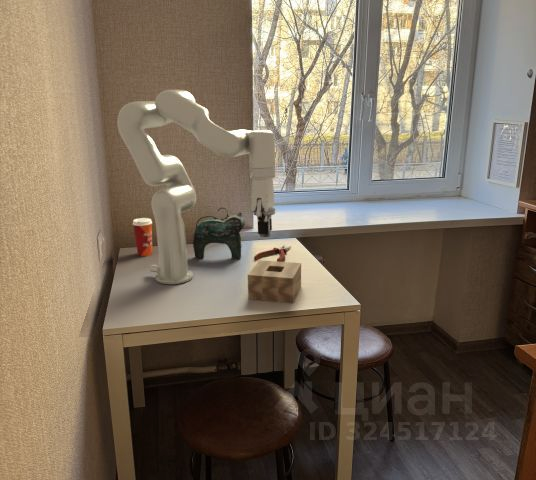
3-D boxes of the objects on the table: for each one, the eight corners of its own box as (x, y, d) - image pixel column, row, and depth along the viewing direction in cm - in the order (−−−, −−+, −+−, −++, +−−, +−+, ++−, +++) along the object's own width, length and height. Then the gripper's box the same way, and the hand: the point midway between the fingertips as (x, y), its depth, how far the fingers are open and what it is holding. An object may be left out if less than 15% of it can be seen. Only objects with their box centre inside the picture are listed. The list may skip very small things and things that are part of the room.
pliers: (300, 250, 200) (300, 244, 199) (280, 265, 182) (280, 259, 182) (275, 247, 204) (275, 241, 204) (252, 261, 187) (252, 255, 186)
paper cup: (150, 257, 192) (147, 222, 188) (132, 256, 193) (128, 222, 189) (157, 251, 200) (155, 217, 196) (140, 250, 201) (137, 217, 197)
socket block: (248, 299, 152) (247, 274, 149) (259, 282, 165) (259, 260, 162) (292, 303, 148) (292, 278, 146) (301, 286, 161) (301, 263, 159)
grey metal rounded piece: (251, 238, 149) (250, 210, 147) (257, 232, 155) (256, 205, 153) (273, 238, 148) (272, 210, 145) (278, 233, 154) (277, 206, 151)
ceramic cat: (246, 256, 192) (244, 206, 187) (243, 261, 186) (242, 209, 180) (196, 255, 194) (193, 205, 189) (192, 260, 188) (189, 209, 182)
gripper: (257, 169, 155) (260, 225, 160) (242, 177, 139) (245, 239, 144) (281, 169, 153) (282, 226, 158) (268, 177, 138) (270, 240, 143)
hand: (265, 231), depth 151 cm, fingers closed on grey metal rounded piece, 3 cm apart
